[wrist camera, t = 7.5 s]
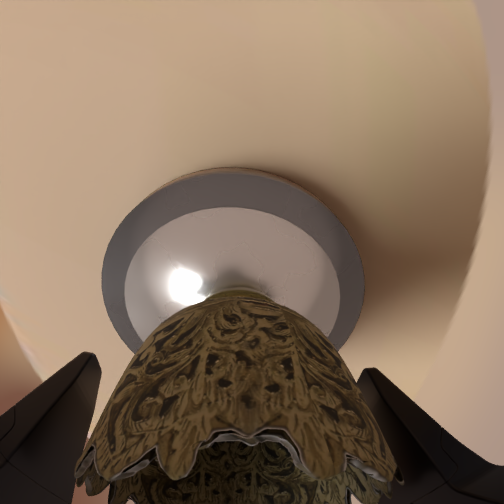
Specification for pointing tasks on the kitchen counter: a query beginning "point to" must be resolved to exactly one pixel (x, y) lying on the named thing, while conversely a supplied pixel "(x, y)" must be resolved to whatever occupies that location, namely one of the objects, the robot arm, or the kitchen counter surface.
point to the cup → (237, 415)
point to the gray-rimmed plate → (231, 253)
